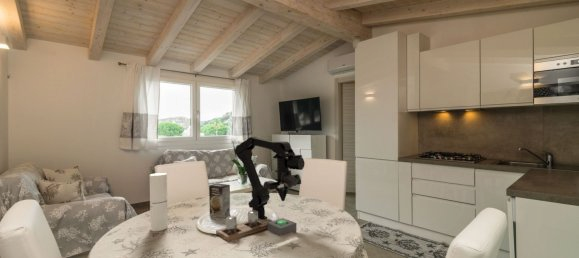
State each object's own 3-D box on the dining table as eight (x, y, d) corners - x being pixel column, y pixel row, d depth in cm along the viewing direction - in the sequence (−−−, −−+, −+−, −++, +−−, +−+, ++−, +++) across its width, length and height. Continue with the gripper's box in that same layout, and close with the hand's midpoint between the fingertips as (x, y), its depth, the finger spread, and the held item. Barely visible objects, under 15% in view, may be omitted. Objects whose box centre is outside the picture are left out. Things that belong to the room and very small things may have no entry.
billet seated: (224, 234, 113) (224, 217, 113) (233, 231, 116) (233, 215, 116) (229, 237, 110) (229, 220, 109) (238, 234, 112) (238, 217, 112)
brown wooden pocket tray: (216, 236, 113) (216, 230, 113) (255, 224, 127) (255, 219, 127) (227, 243, 106) (227, 237, 106) (268, 230, 119) (268, 224, 119)
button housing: (267, 232, 117) (267, 222, 117) (283, 226, 123) (282, 218, 123) (280, 238, 110) (280, 228, 110) (296, 232, 116) (296, 223, 116)
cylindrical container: (160, 231, 119) (159, 175, 119) (146, 230, 121) (145, 175, 121) (171, 225, 126) (170, 173, 126) (157, 224, 128) (156, 172, 128)
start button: (275, 226, 117) (275, 221, 117) (282, 224, 120) (282, 219, 120) (281, 229, 114) (281, 224, 114) (288, 226, 117) (288, 222, 117)
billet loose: (246, 227, 120) (246, 211, 120) (254, 224, 123) (254, 209, 123) (251, 230, 117) (251, 214, 117) (260, 227, 120) (259, 211, 120)
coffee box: (209, 215, 140) (208, 185, 140) (217, 212, 146) (217, 182, 145) (222, 218, 136) (221, 186, 136) (230, 214, 141) (230, 184, 141)
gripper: (277, 172, 115) (277, 209, 115) (308, 168, 126) (309, 201, 127) (262, 169, 123) (263, 203, 123) (293, 165, 135) (293, 196, 135)
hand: (283, 200), depth 127 cm, fingers closed
